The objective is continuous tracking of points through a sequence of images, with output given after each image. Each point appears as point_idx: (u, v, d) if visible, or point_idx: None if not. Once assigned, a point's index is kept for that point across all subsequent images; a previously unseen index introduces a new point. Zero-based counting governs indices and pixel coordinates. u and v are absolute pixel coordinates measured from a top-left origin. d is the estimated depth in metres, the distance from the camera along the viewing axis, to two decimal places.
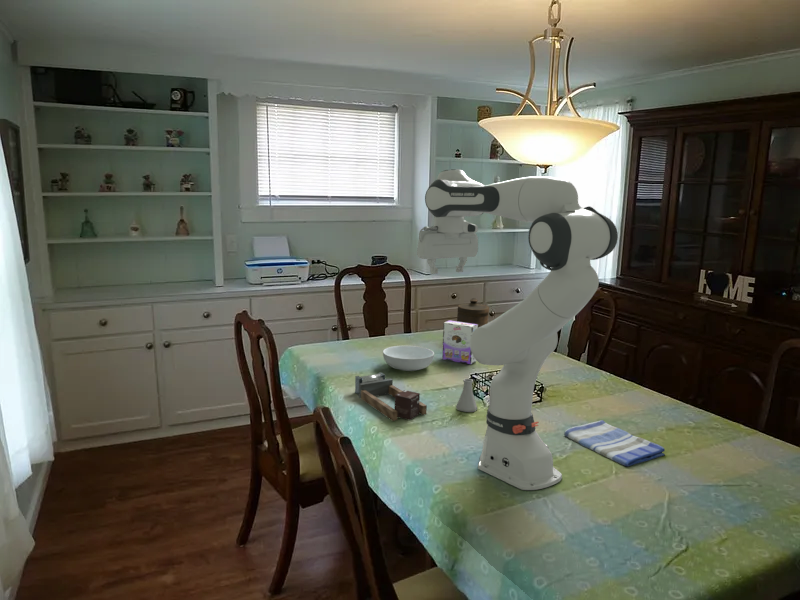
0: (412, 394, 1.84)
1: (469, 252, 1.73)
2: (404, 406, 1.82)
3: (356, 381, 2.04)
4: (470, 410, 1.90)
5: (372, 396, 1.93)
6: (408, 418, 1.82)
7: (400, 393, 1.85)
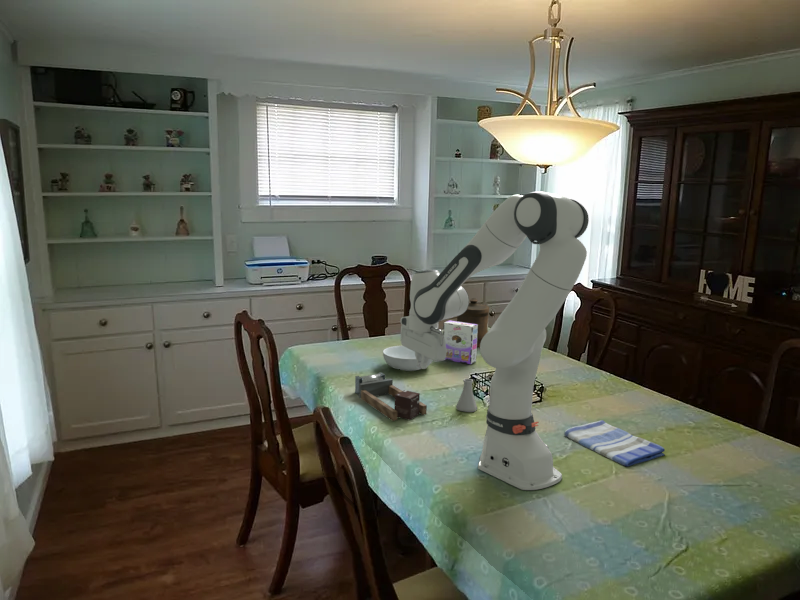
0: (412, 394, 1.84)
1: None
2: (404, 406, 1.82)
3: (356, 381, 2.04)
4: (470, 410, 1.90)
5: (372, 396, 1.93)
6: (408, 418, 1.82)
7: (400, 393, 1.85)
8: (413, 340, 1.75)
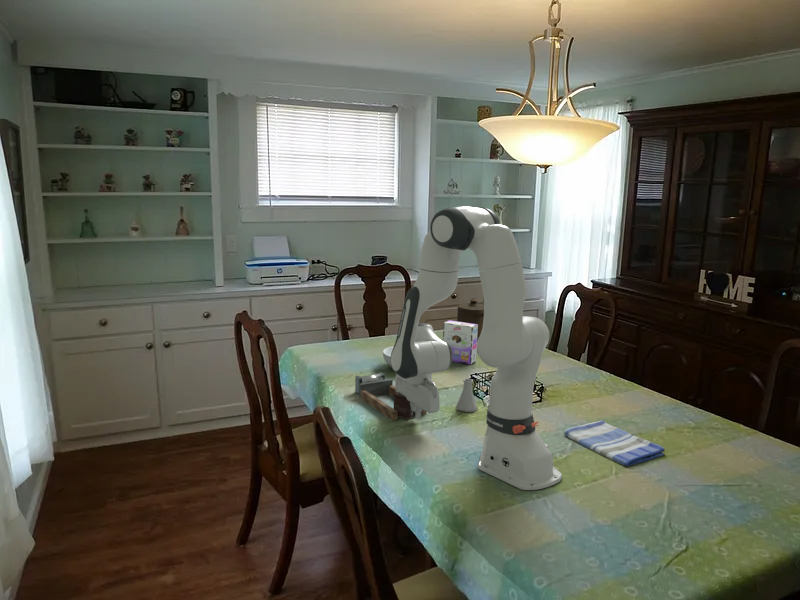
0: None
1: None
2: (403, 405, 1.82)
3: (356, 381, 2.04)
4: (470, 410, 1.90)
5: (372, 396, 1.93)
6: (407, 417, 1.82)
7: None
8: (407, 390, 1.80)
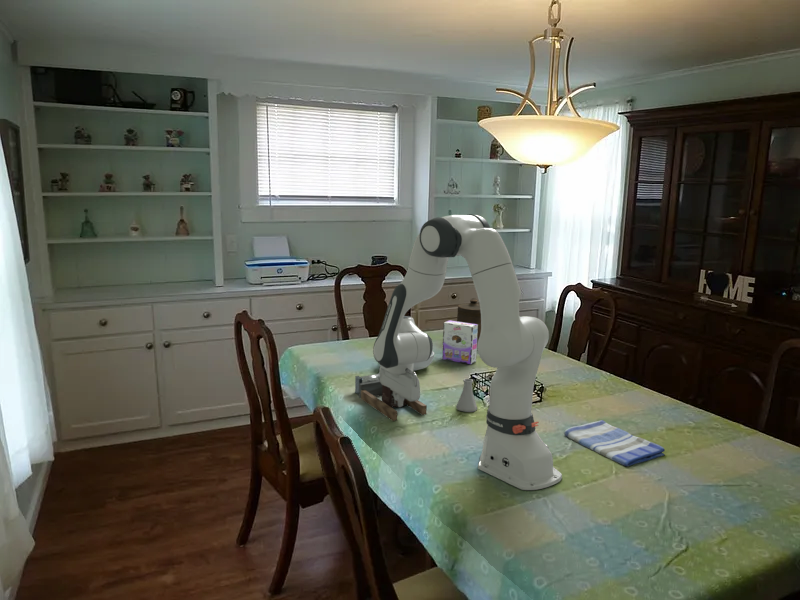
0: None
1: None
2: (386, 393, 1.92)
3: (356, 381, 2.04)
4: (470, 410, 1.90)
5: (372, 396, 1.93)
6: None
7: None
8: (390, 380, 1.89)
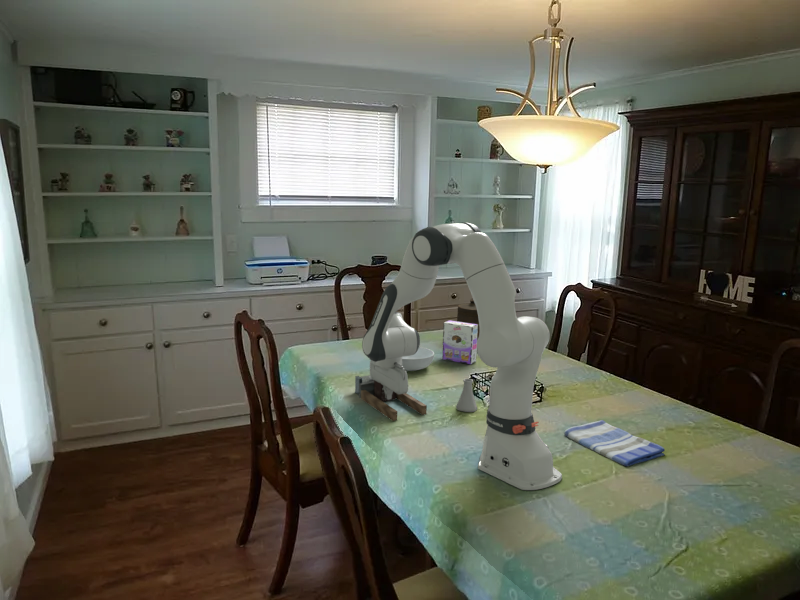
0: None
1: None
2: (377, 387, 1.98)
3: (356, 381, 2.04)
4: (470, 410, 1.90)
5: (372, 396, 1.93)
6: None
7: None
8: (380, 374, 1.95)
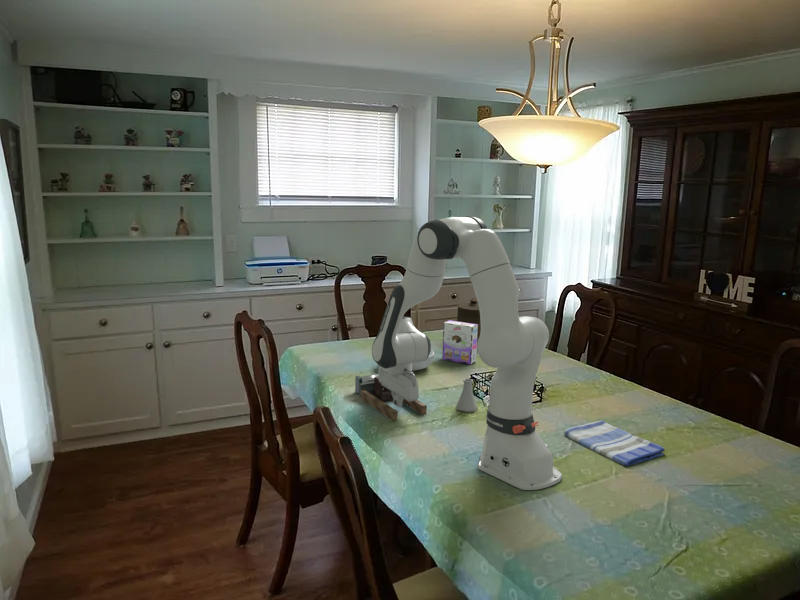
0: None
1: None
2: (377, 388, 1.98)
3: (356, 381, 2.04)
4: (470, 410, 1.90)
5: (372, 396, 1.93)
6: None
7: None
8: (389, 380, 1.90)
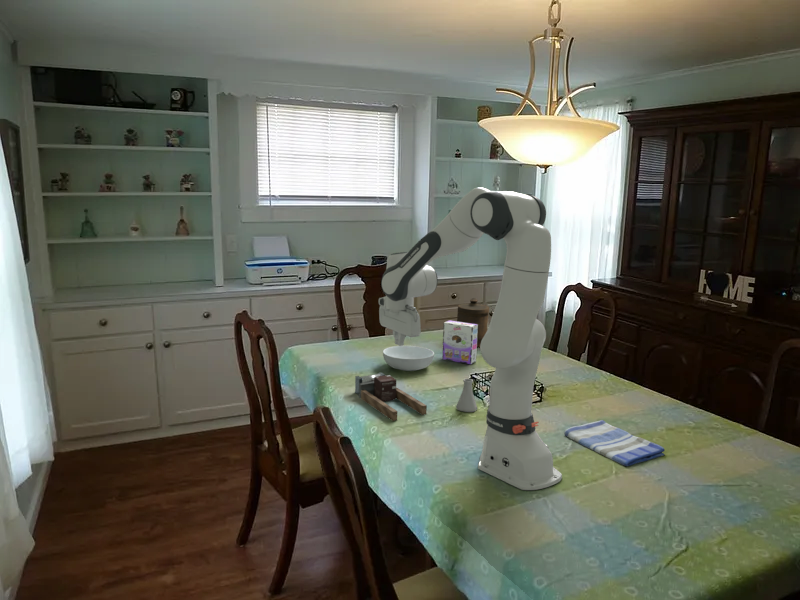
0: (389, 379, 1.98)
1: None
2: (377, 388, 1.98)
3: (356, 381, 2.04)
4: (470, 410, 1.90)
5: (372, 396, 1.93)
6: None
7: (380, 376, 2.01)
8: (390, 319, 1.86)
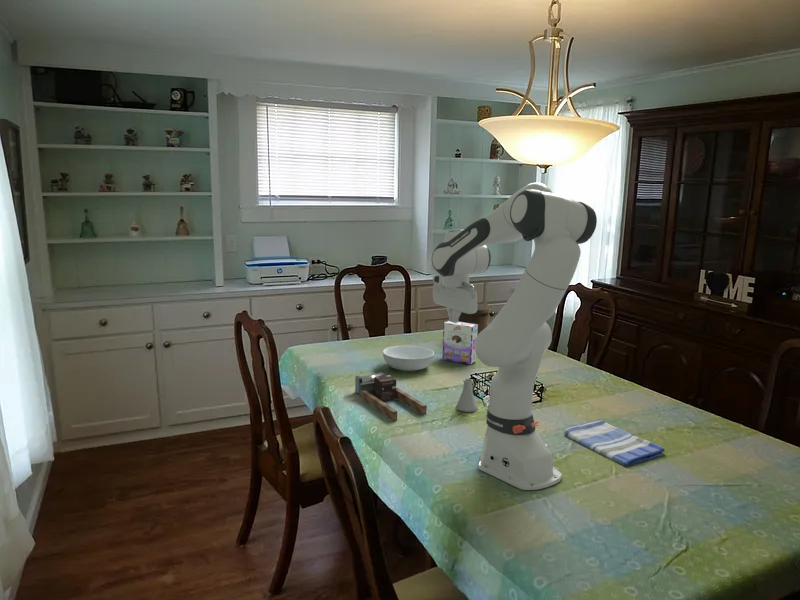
0: (389, 379, 1.98)
1: None
2: (377, 388, 1.98)
3: (356, 381, 2.04)
4: (470, 410, 1.90)
5: (372, 396, 1.93)
6: None
7: (380, 376, 2.01)
8: (445, 296, 1.89)
